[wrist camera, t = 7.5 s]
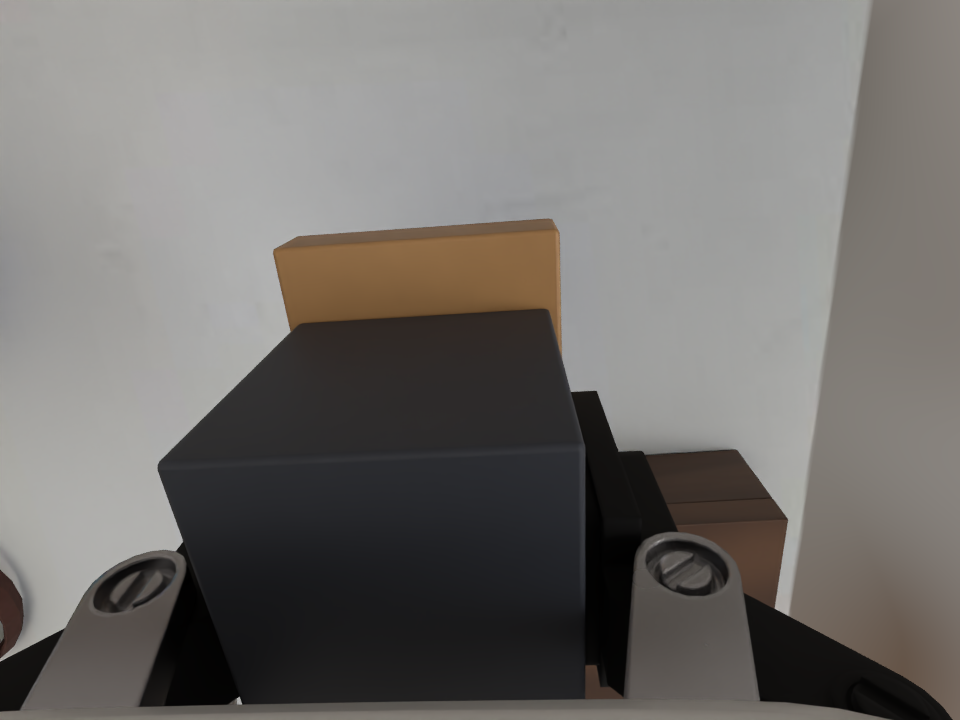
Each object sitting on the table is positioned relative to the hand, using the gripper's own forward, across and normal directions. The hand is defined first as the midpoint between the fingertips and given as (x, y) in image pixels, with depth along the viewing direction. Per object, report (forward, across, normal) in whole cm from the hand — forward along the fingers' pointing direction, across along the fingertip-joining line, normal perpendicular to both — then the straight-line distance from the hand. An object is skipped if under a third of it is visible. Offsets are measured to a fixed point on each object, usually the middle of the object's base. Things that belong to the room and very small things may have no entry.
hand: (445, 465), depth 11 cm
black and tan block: (+1, 0, +1) cm, 1 cm away
